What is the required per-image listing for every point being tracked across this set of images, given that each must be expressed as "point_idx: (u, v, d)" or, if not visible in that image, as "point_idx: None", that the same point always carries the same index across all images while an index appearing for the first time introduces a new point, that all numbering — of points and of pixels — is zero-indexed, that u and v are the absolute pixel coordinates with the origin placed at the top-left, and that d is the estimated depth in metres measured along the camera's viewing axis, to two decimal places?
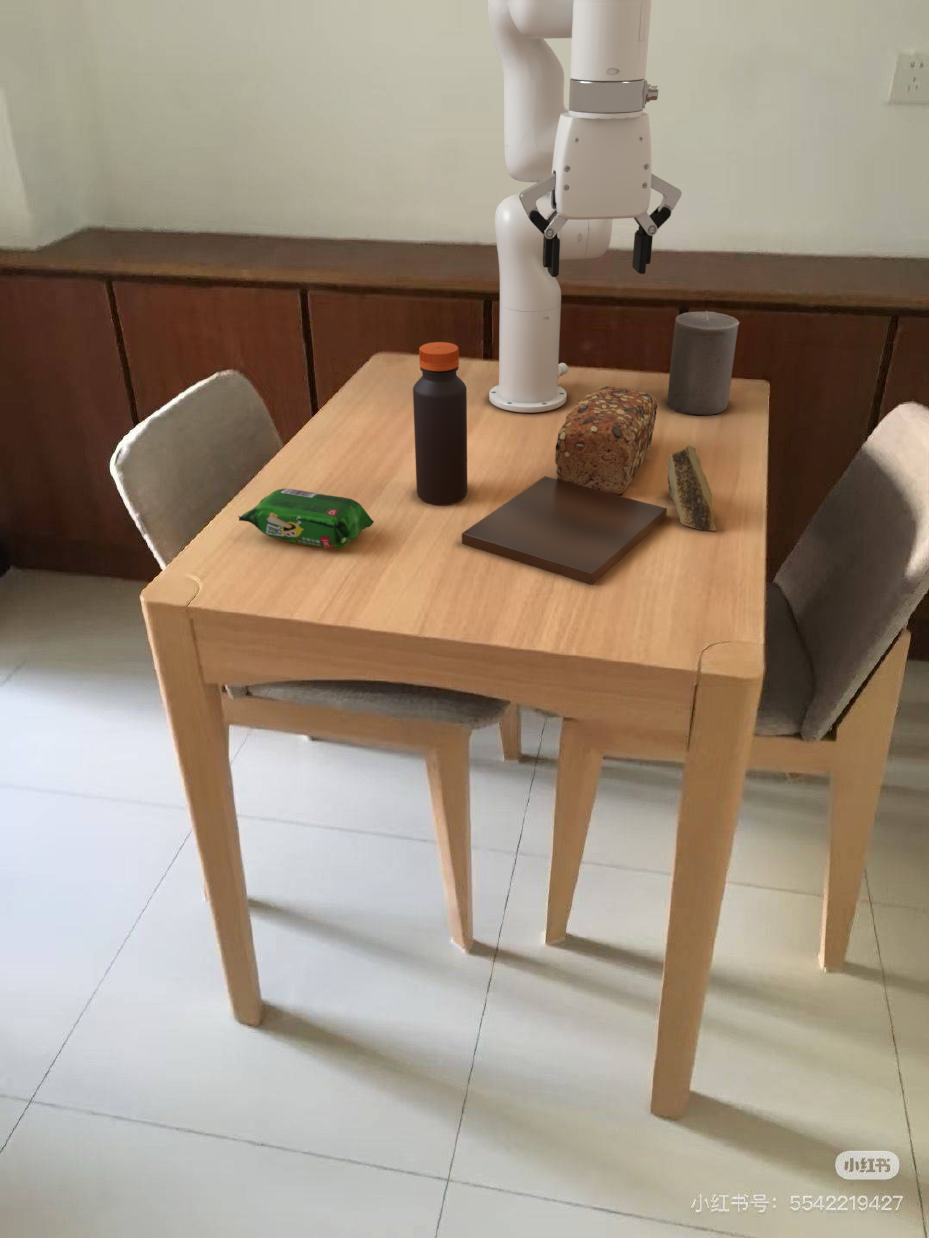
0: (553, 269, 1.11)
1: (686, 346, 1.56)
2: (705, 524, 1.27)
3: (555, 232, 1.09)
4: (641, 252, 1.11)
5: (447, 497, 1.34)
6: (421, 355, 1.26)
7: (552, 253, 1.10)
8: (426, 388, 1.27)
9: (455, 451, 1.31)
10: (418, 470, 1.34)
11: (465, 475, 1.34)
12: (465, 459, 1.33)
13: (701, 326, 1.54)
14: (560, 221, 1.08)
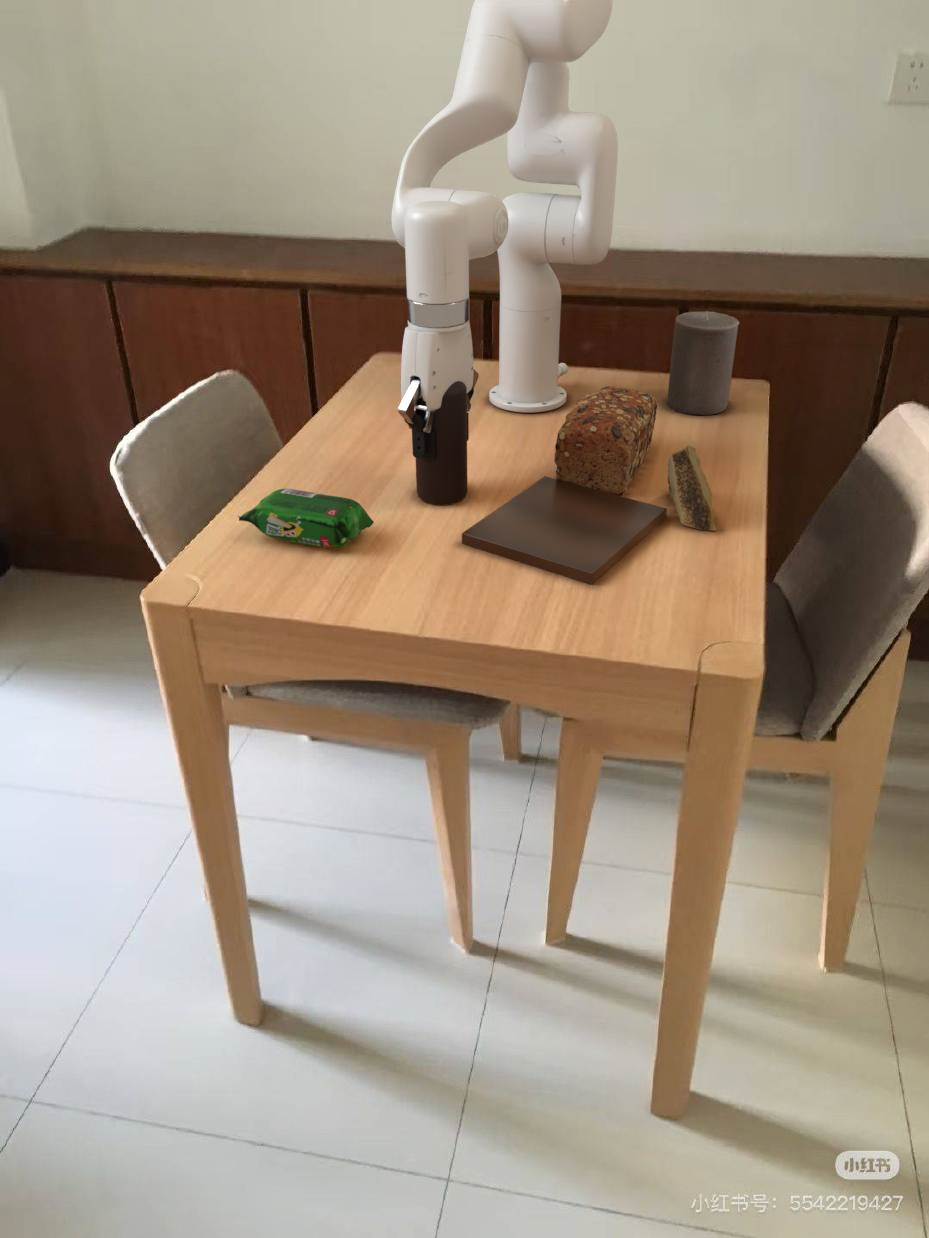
0: (432, 455, 1.30)
1: (686, 346, 1.56)
2: (705, 524, 1.27)
3: (431, 426, 1.28)
4: None
5: (447, 497, 1.34)
6: None
7: (429, 443, 1.29)
8: None
9: (455, 451, 1.31)
10: (418, 470, 1.34)
11: (465, 475, 1.34)
12: (465, 459, 1.33)
13: (701, 326, 1.54)
14: (432, 416, 1.27)
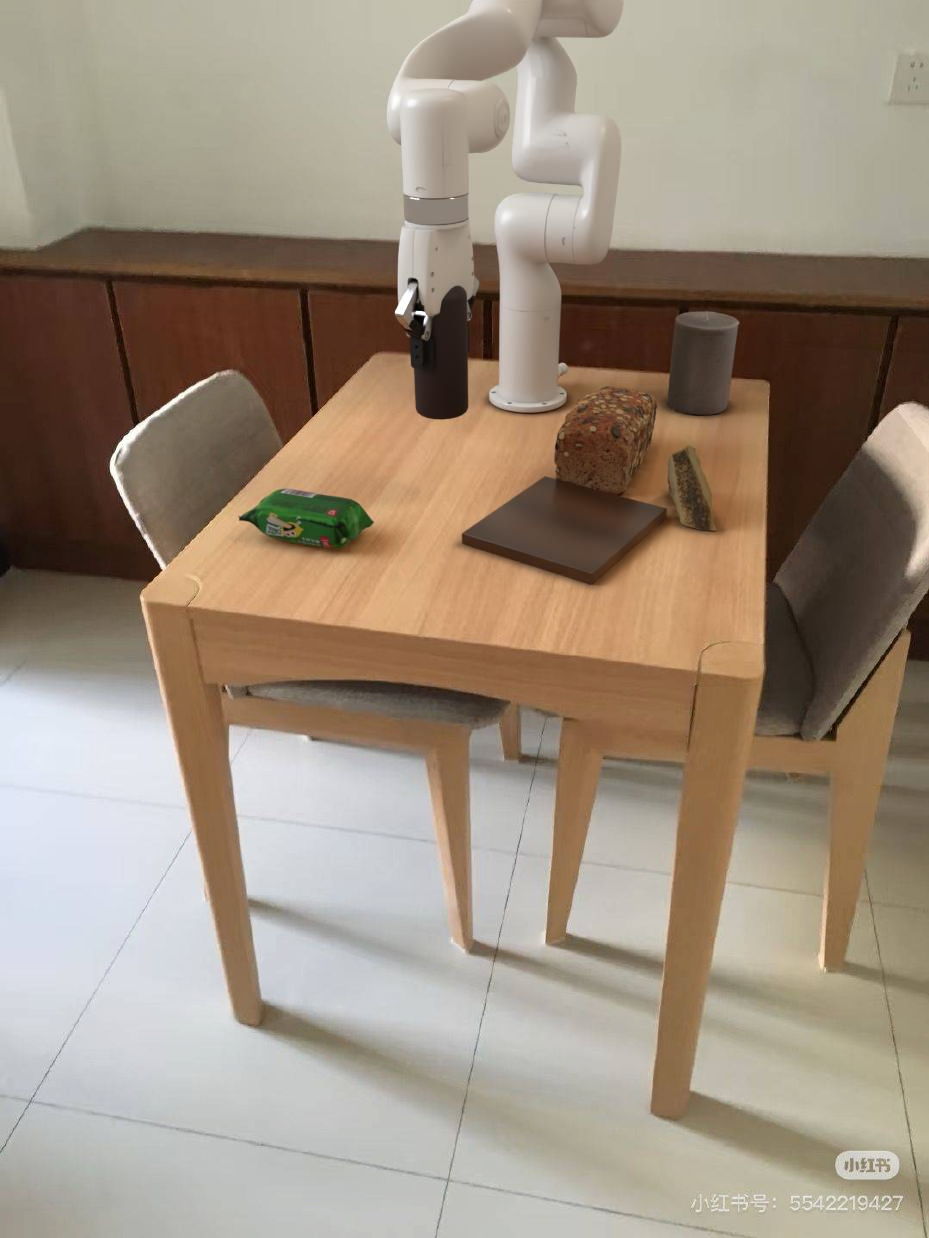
0: (431, 365, 1.24)
1: (686, 346, 1.56)
2: (705, 524, 1.27)
3: (430, 333, 1.22)
4: None
5: (447, 411, 1.28)
6: None
7: (428, 351, 1.23)
8: None
9: (455, 361, 1.25)
10: (417, 383, 1.28)
11: (466, 388, 1.29)
12: (466, 371, 1.27)
13: (701, 326, 1.54)
14: (430, 322, 1.21)
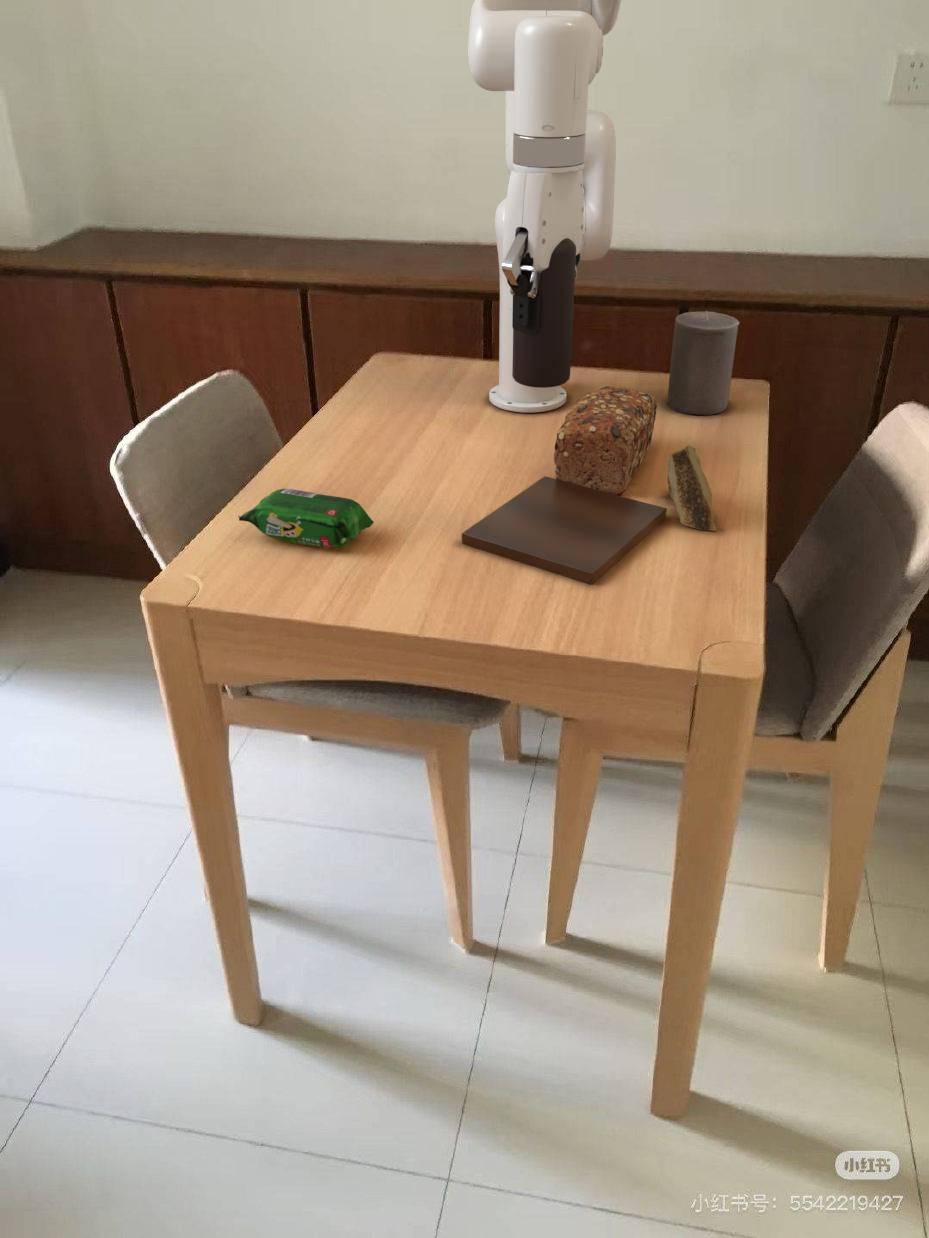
0: (536, 326, 1.13)
1: (686, 346, 1.56)
2: (705, 524, 1.27)
3: (536, 290, 1.11)
4: None
5: (549, 378, 1.17)
6: None
7: (533, 311, 1.12)
8: None
9: (561, 322, 1.14)
10: (517, 347, 1.17)
11: (570, 354, 1.17)
12: (571, 334, 1.16)
13: (701, 326, 1.54)
14: (538, 277, 1.10)
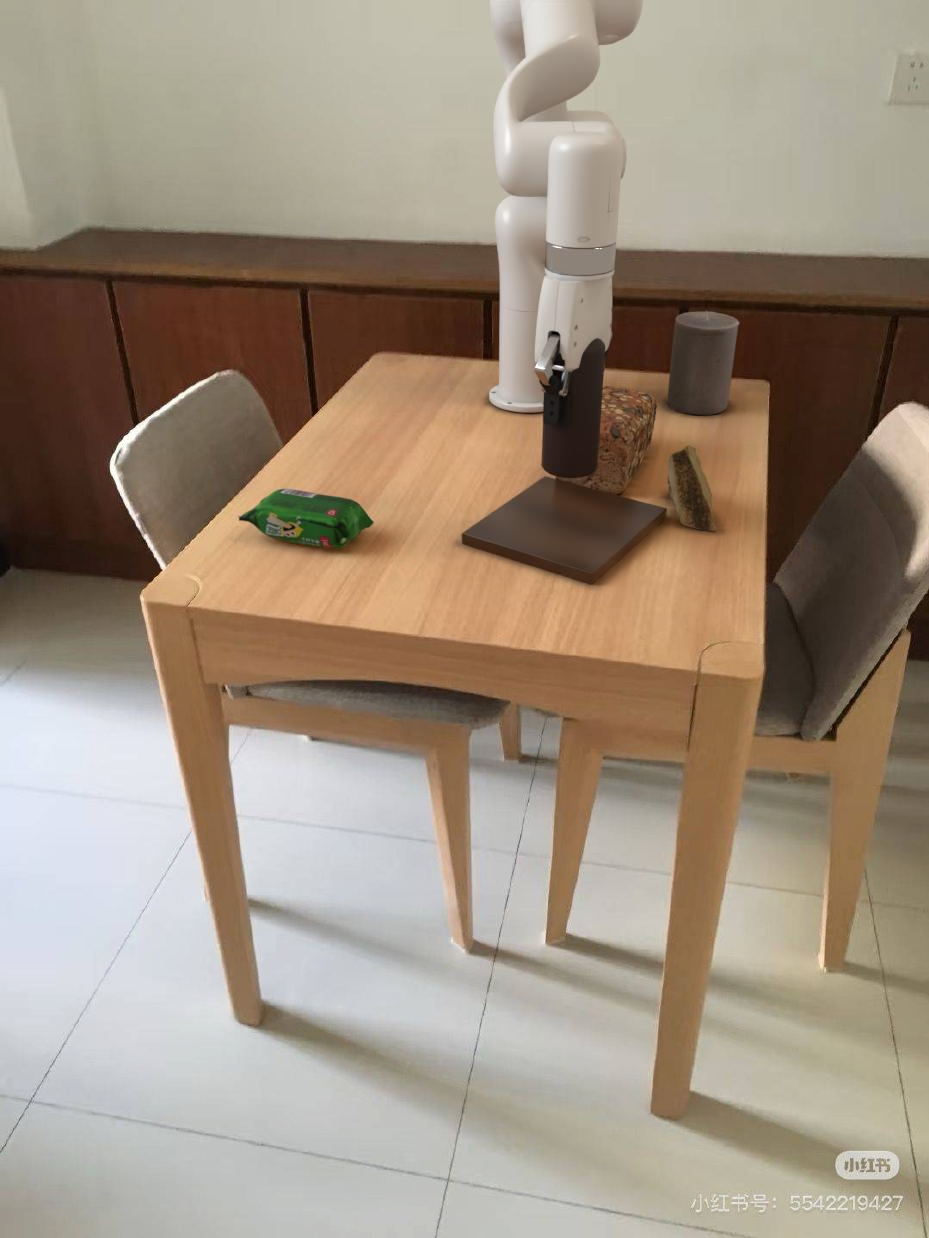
0: (567, 422, 1.16)
1: (686, 346, 1.56)
2: (705, 524, 1.27)
3: (567, 389, 1.14)
4: None
5: (578, 469, 1.20)
6: None
7: (564, 408, 1.15)
8: None
9: (590, 417, 1.17)
10: (546, 439, 1.20)
11: (598, 445, 1.21)
12: (599, 427, 1.20)
13: (701, 326, 1.54)
14: (569, 377, 1.14)
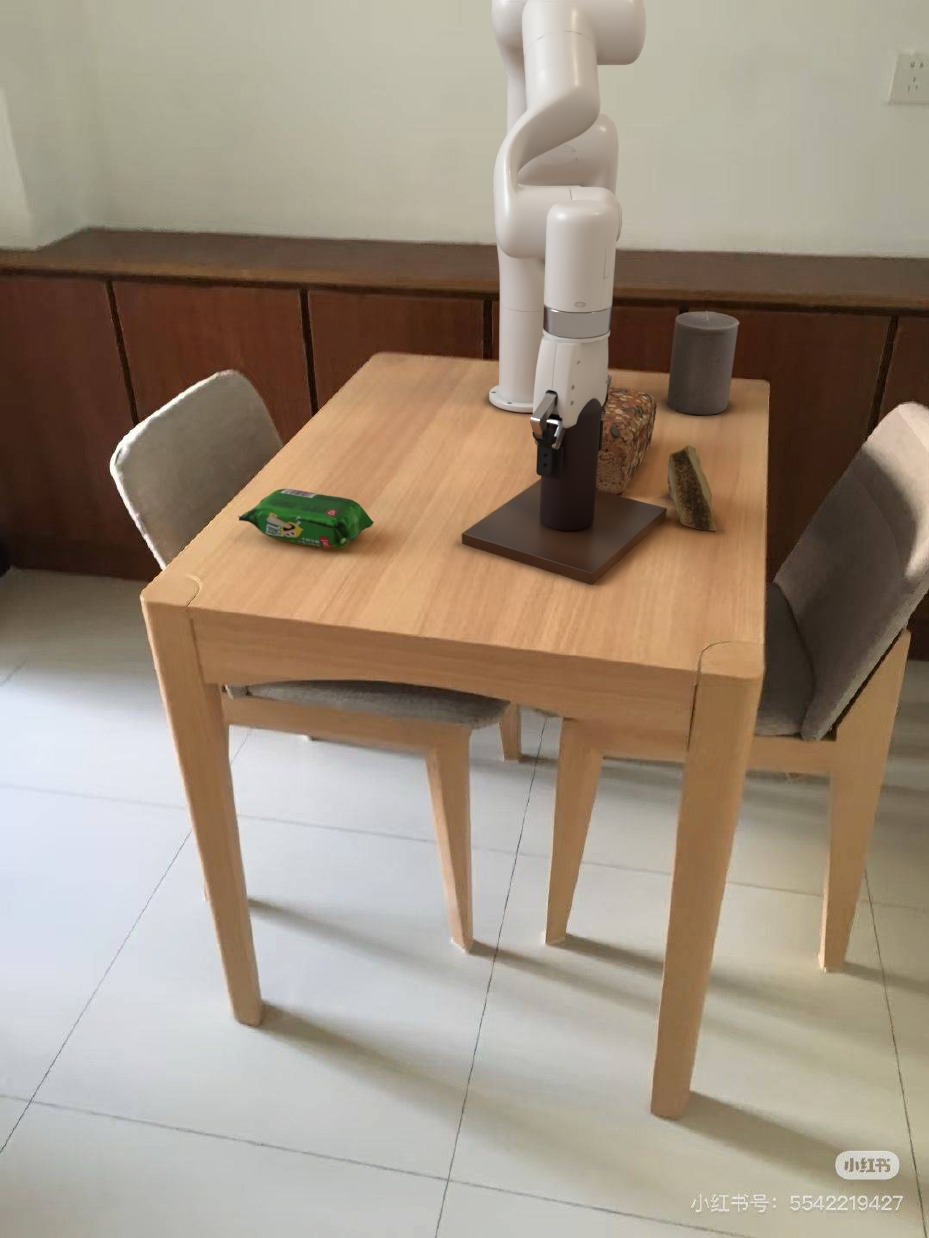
0: (560, 473, 1.18)
1: (686, 346, 1.56)
2: (705, 524, 1.27)
3: (560, 442, 1.17)
4: None
5: (575, 523, 1.24)
6: None
7: (557, 460, 1.18)
8: None
9: (587, 473, 1.21)
10: (544, 494, 1.24)
11: (594, 499, 1.25)
12: (595, 482, 1.23)
13: (701, 326, 1.54)
14: (563, 431, 1.16)
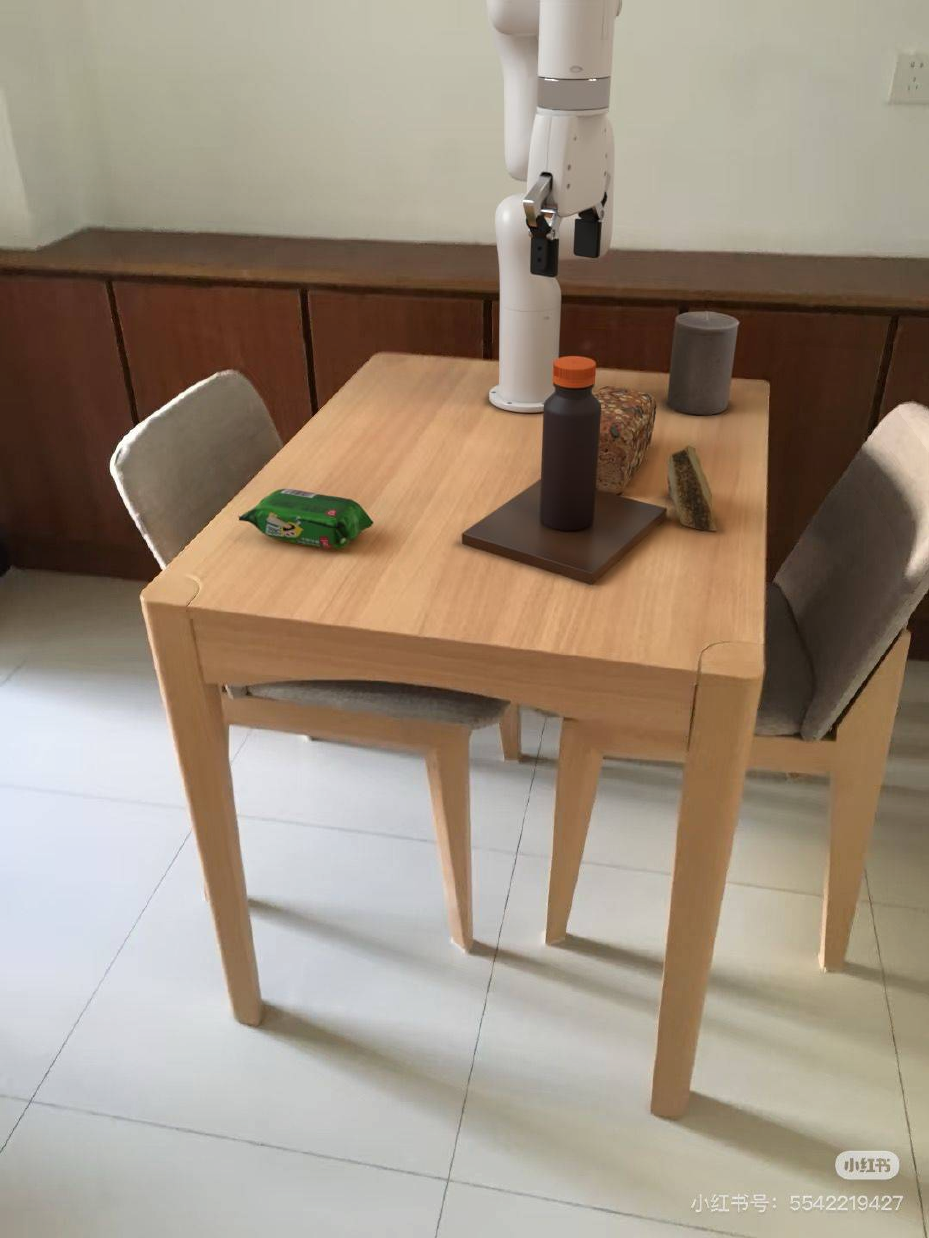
0: (555, 269, 1.11)
1: (686, 346, 1.56)
2: (705, 524, 1.27)
3: (555, 232, 1.09)
4: (597, 237, 1.16)
5: (575, 523, 1.24)
6: (556, 370, 1.16)
7: (552, 254, 1.10)
8: (560, 407, 1.17)
9: (587, 473, 1.21)
10: (544, 494, 1.24)
11: (594, 499, 1.25)
12: (595, 482, 1.23)
13: (701, 326, 1.54)
14: (558, 220, 1.08)
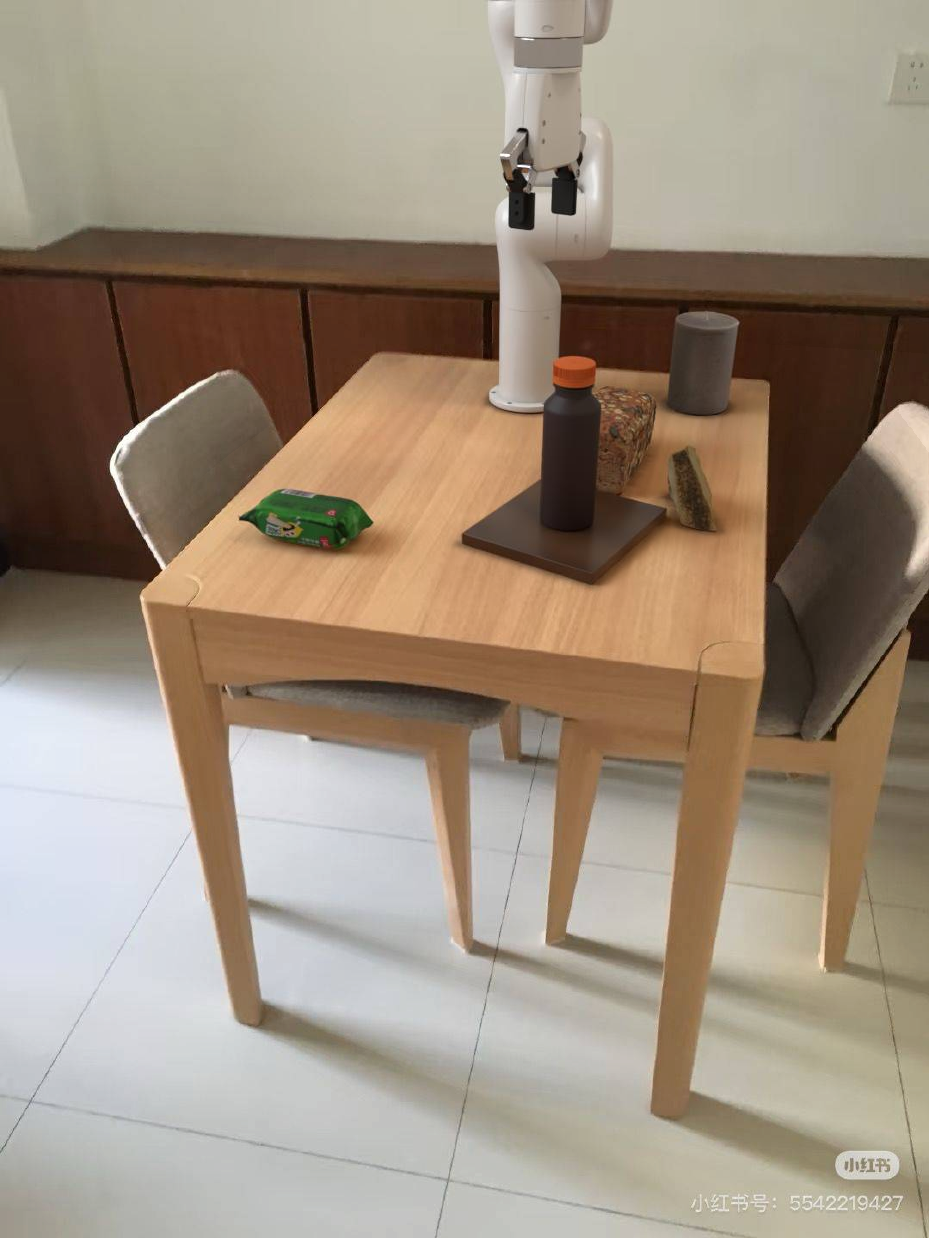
0: (532, 222, 1.16)
1: (686, 346, 1.56)
2: (705, 524, 1.27)
3: (532, 186, 1.14)
4: (573, 195, 1.22)
5: (575, 523, 1.24)
6: (556, 370, 1.16)
7: (529, 207, 1.15)
8: (560, 407, 1.17)
9: (587, 473, 1.21)
10: (544, 494, 1.24)
11: (594, 499, 1.25)
12: (595, 482, 1.23)
13: (701, 326, 1.54)
14: (534, 175, 1.14)
